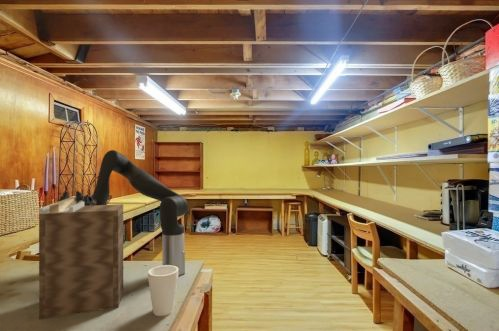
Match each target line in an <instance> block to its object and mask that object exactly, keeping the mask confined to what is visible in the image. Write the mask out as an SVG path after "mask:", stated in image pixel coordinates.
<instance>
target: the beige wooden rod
mask: <svg viewBox="0 0 499 331" xmlns="http://www.w3.org/2000/svg"><path fill="white" fill-rule="evenodd" d="M58 201H59V200H58ZM58 201H57V202H53V203H54V204H53V203H50V204H51V205H50V204H48V205H49V213H59V212H61V211H63V210H65V209H67V208H69V207H71V206H73V205H75V204H77V203H79V200H78V199H77V198H76V195H74V196H70V198H67V199H64V200H62V201H59V202H58Z"/></svg>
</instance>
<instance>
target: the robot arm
mask: <svg viewBox="0 0 499 331" xmlns="http://www.w3.org/2000/svg"><path fill="white" fill-rule="evenodd" d="M102 157H103V158H102V160H101V163H100V168H99V171H98V175H97V180H96V185H95V187H94V190H93V192H92V193H93V194H92V195H91V196H90V195H88V194H86V195H85V196H84V194H83V193H82V192H80V191H79V190H76V192H75V196H76V198H77V199H78V200H79V202H84V206H94V205H107V203H108V200H109V198H110V194H111V193H110V178H111V174H112V172H115V173H118V174H120V175H121V176H123V177H125V179H127V180H128V183H129V184H130V185H131V187H133V189H135V190H136V191H137V192H138V193H140V194H141V195H143V196H145V197H148V198H151V199H154V200H157V201H158V202H160V203H159V204H160V205H159V220H160V221H159V223H160V229H161V232H162V233H161V234H162V235H161V236H162V248H161V249H162V250H161V253H162V258H161V259H162V261H161V262H162V263H161V264H162V265H161V266H163V265H172V266H176V267H178V276H182V275H185V274H186V251H185V226H184V225H182V224H179V222H178V221H179V220H178V218H179V217H182V216H184V215H186V213H188V211H189V204H188V200H187V199H186V198H185V197H184V196H182V195H181V194H179V193H177V192H175V191H173V190H172V189H171V188H168V187H167V186H166V185H165V184H163V183H162V182H161V181H159V180H158V179H157V178H155V177H154V176H153V175H151V174H149V173H148V172H147V171H146V170H144V169H142V168H140V167H138V166H136V165H135V163H133V162H132V161H131V160H130V159H129V158H128V157H127V156H126V155H124V154H123V153H121V152H119V151H117V150H114V149H112V150H111V149H110V150H108V151H107V152H106V153H104V155H103V156H102ZM70 197H71V196H70V194H69V192H68V191H64V192H63V193H62V195H61V196H60V197H59V199H58V201H57V202H59V201H62V200H64V199H67V198H70Z"/></svg>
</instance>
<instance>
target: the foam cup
mask: <svg viewBox="0 0 499 331" xmlns="http://www.w3.org/2000/svg"><path fill="white" fill-rule="evenodd" d="M178 278H179V275H178V267H176V266H172V265H163V266H162V265H159V266H158V265H157V266H154V267H152V268H150V269H149V270H148V272H147V281H148V287H149V293H150V300H151V301H150V302H151V307H152V313H154V314H155V315H154V314H153V315H154V316H158V317H164V316H169V315H171V314H172V313H173V312H174V308H175V301H176V294H177V287H178V286H177V285H178V280H179V279H178Z"/></svg>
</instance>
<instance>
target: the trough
mask: <svg viewBox="0 0 499 331" xmlns="http://www.w3.org/2000/svg"><path fill="white" fill-rule="evenodd" d="M54 203H55V202H53V203H50V204H48V205H46V206H45V205H44V206H42V207H40V208H38V215H39V214H49V205H51V204H54ZM83 206H84V202H79V203H77V204H75V205H73V206H71V207H69V208H67V209H65V210H63V211H61V212H59V213H70V212H74V211H76V210H78V209H80V208H82V207H83Z"/></svg>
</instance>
